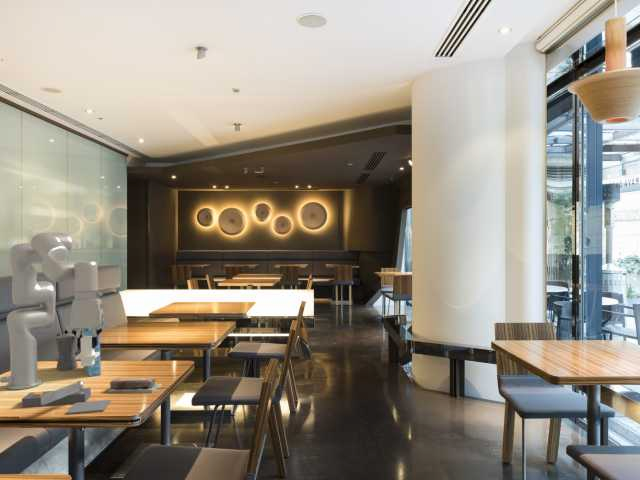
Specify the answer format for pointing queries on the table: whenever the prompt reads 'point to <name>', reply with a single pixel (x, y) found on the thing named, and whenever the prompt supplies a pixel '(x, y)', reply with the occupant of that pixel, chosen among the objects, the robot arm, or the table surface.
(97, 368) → the gum box
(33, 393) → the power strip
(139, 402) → the table surface
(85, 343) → the plug
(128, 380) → the packaged product
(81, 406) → the mat
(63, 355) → the coffeepot
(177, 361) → the table surface
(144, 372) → the table surface
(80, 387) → the grey long bar
